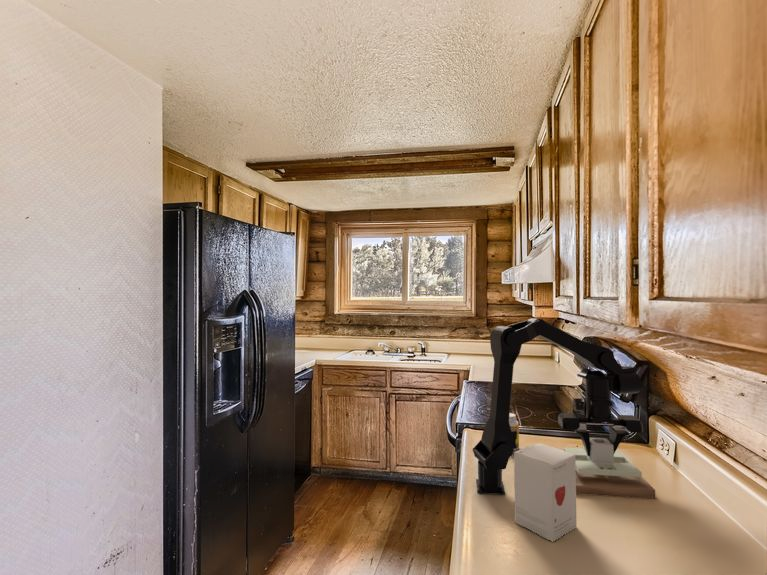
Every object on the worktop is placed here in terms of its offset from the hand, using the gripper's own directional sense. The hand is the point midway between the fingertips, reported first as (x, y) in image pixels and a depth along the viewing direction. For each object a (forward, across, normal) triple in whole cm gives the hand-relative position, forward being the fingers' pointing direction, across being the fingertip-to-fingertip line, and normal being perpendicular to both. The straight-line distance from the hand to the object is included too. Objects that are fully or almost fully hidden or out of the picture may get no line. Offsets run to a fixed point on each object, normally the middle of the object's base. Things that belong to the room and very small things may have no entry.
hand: (599, 456), depth 106 cm
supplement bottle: (+6, +20, -19) cm, 28 cm away
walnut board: (+6, 0, 0) cm, 6 cm away
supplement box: (+6, +18, +24) cm, 31 cm away
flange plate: (+2, 0, 0) cm, 2 cm away
